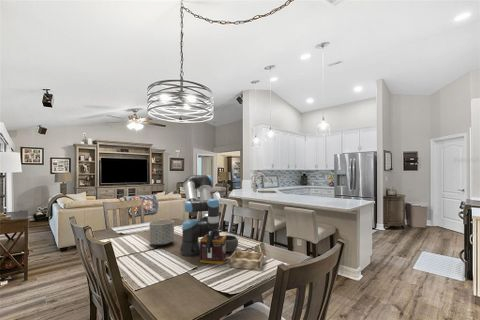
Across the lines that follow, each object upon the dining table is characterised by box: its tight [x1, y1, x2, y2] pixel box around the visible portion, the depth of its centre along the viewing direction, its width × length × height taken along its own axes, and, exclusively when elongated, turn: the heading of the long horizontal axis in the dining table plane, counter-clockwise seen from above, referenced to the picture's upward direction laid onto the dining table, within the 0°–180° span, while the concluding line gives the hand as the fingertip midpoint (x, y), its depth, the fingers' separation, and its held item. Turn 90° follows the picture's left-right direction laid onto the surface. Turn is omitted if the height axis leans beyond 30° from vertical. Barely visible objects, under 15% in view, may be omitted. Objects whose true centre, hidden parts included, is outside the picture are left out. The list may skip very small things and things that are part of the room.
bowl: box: [224, 234, 239, 253], centre depth 182 cm, size 15×15×10 cm
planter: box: [148, 218, 175, 247], centre depth 198 cm, size 19×19×18 cm
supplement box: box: [199, 235, 227, 265], centre depth 164 cm, size 10×15×16 cm
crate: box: [228, 250, 265, 271], centre depth 158 cm, size 20×15×5 cm
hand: (213, 254), depth 164 cm, fingers open, 13 cm apart
